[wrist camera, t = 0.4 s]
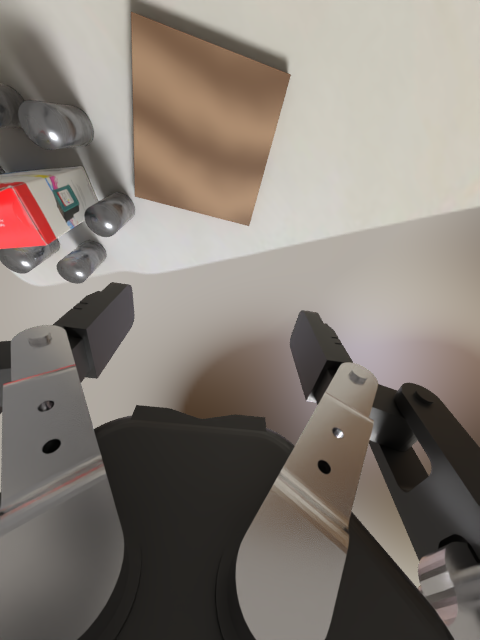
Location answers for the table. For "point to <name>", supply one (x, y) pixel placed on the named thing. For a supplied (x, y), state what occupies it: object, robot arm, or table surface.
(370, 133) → the table surface
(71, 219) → the ink box
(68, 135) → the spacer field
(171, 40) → the walnut board
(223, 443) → the robot arm
